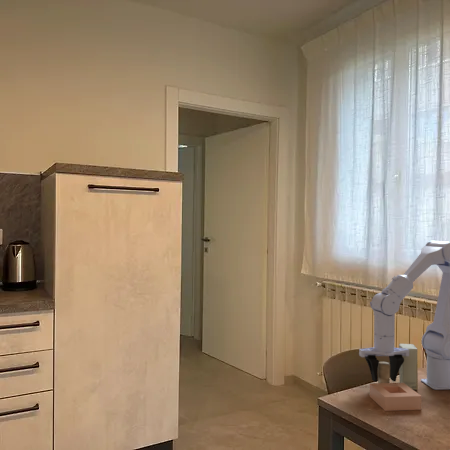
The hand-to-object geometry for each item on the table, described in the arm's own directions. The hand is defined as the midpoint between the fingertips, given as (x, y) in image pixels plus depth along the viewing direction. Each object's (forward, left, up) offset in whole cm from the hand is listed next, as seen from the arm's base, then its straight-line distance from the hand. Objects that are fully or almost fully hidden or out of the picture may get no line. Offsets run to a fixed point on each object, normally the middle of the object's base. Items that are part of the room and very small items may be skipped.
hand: (383, 380), depth 132 cm
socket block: (+1, +9, -3) cm, 10 cm away
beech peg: (0, 0, -3) cm, 3 cm away
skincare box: (-9, -3, -3) cm, 10 cm away
